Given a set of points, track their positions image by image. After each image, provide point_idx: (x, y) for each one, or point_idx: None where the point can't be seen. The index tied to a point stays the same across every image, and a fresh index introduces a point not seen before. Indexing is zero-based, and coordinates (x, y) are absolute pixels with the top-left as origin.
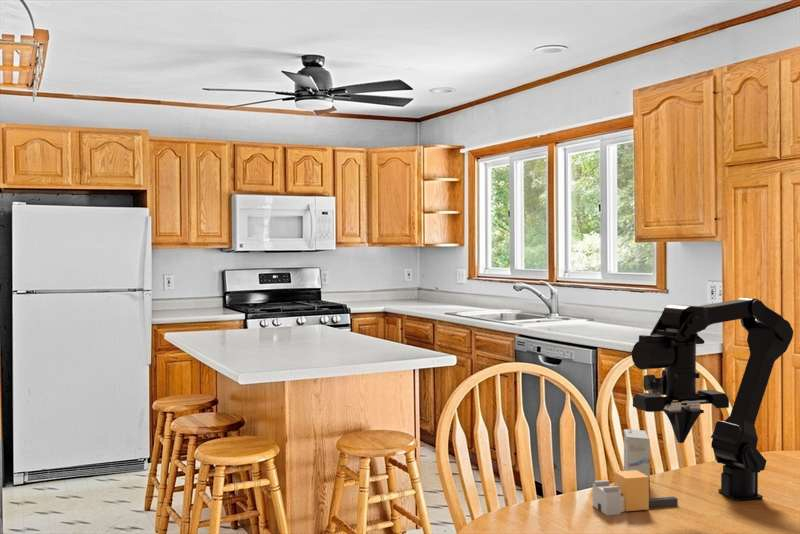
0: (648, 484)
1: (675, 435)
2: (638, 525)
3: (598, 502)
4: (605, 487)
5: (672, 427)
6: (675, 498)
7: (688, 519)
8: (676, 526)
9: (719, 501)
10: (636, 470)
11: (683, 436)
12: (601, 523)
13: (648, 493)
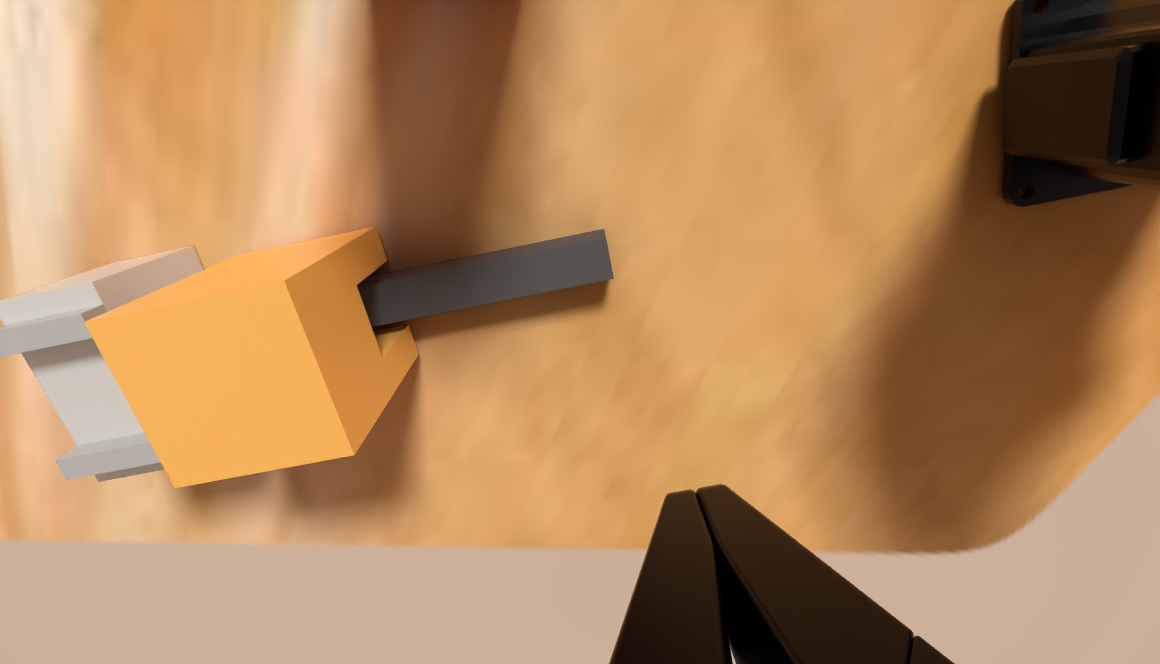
0: (372, 424)
1: (649, 555)
2: (329, 525)
3: None
4: (69, 472)
5: (613, 660)
6: (601, 276)
7: (585, 463)
8: (497, 537)
9: (897, 199)
10: (282, 291)
11: (733, 651)
12: (161, 501)
13: (390, 396)
